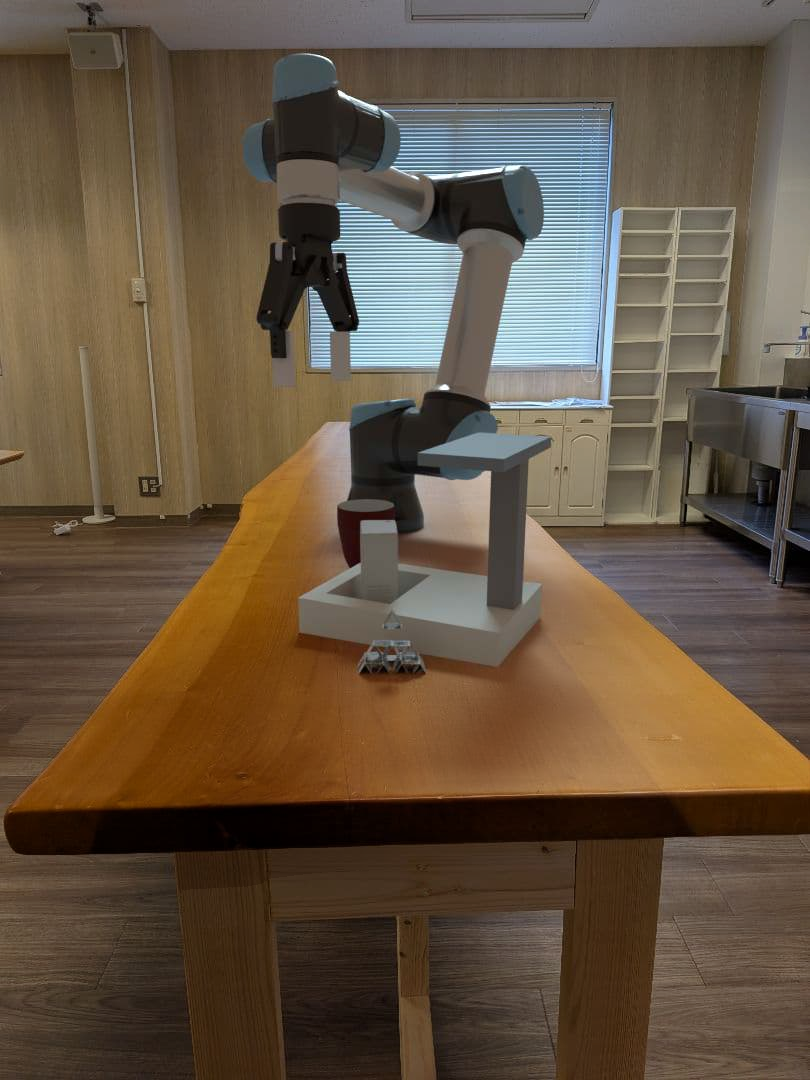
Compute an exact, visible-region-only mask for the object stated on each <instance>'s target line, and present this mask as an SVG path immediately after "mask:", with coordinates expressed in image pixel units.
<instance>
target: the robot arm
mask: <svg viewBox="0 0 810 1080" xmlns="http://www.w3.org/2000/svg"><path fill="white" fill-rule="evenodd" d="M272 71H273V72H272V97H271V103H272V110H273V111H272V112H273V118H267V119H264V121H261V122H258V123H254V124H252V125H250V126H249V127H247V130H245V132H244V134H243V138H242V141H241V142H242V146H241V147H242V148H241V149H242V153H241V154H242V160H243V163H244V165H245V166H246V168H247V170H248V172H249V173H250V175H251V176H253V178H254V179H256V180H257V181H259V182H261V183H273V184H276V185H277V186H276V189H277V200H278V202H279V203H281V205H280V206H279V208H277V220H278V221H277V222H278V226H277V227H278V236H279V238H280V239H281V240H283V241H277V242H276V241H275V242H271V243H270V245H269V263H268V268H267V272H266V277H265V280H264V285H263V287H262V288H263V289H262V292H261V293H262V294H261V295H260V296H261V297H260V302H259V305H258V311H257V314H256V322H257V324H258V325H260V328H261V330H262V331H269V343H270V355H271V362H272V364H271V365H272V383H273V387H274V388H275V387H277V388H278V387H281V388H295V387H296V385H297V384H296V366H295V365H296V364H295V363H296V362H295V338H294V336H295V335H294V330H289V327H290V325H291V323H292V321H293V319H294V315H295V313H296V311H297V309H298V306H299V304H300V301H301V300H302V297H303V294H304V292H305V289H306V288H312V290H313V291H315V292H317V295H318V297H319V298H320V302H321V303H322V306H323V308H324V310H325V312H326V315H327V317H328V319H329V322H330V324H331V326H332V329H333V331H329V351H330V352H329V353H330V381H332V382H333V381H334V382H351V380H352V378H351V377H352V375H351V374H352V373H351V372H352V371H351V369H352V368H351V367H352V366H351V332H357V331H358V328H359V324H360V318H359V314H358V310H357V306H356V303H355V297H354V294H353V290H352V286H351V282H350V278H349V274H348V265H347V256H346V255H347V254H346V253H345V252H333V248H332V244H333V243H334V242H337V241H338V240H340V239H341V211H340V210H339V208H338V206H336V205H338V203H340V201H341V202H343V203H346V204H348V205H351V206H354V207H356V208H360V209H362V210H365V211H368V212H370V213H373V214H376V215H377V216H380V217H383V218H385V219H388V220H391V223H392V224H393V225H394V226H395V227H396V228H397V229H399V230H401V231H403V232H406V233H408V234H411V235H413V236H417V237H420V238H422V239H425V240H429V241H432V242H436V243H441V244H445V245H457V247H458V249H459V250H460V251H461V253H462V259H461V263H460V267H459V273H458V277H457V280H456V287H455V291H454V295H453V299H452V306H451V309H450V314H449V318H448V324H447V329H446V332H445V333H446V334H445V338H444V343H443V347H442V352H441V357H440V361H439V366H438V370H437V376H436V380H435V384H434V385H433V387H431V388H429V389H427V390H426V391H425V392H424V394H423V398H422V402H421V406H420V407H417V403H416V402H415V399H414V398H398V399H392V400H391V399H389V400H381V401H372V402H365V403H364V402H363V403H357V404H355V405H354V406H353V407H352V409H350V419H349V420H350V421H349V423H350V424H349V428H348V429H349V448H350V449H349V450H350V451H349V452H350V473H351V474H350V477H351V479H350V480H351V481H350V482H351V483H350V488H349V489H350V490H349V492H348V495H347V500H346V501H350V500H359V499H376V500H384V501H389V502H391V503H393V504H394V505H395V522H396V525H397V533H398V535H401V534H408V533H413V532H417V531H419V530H421V529H423V528H424V526H425V523H424V522H425V521H424V520H425V519H424V518H425V515H424V511H423V510H424V509H423V508H422V504H421V501H420V498H419V495H418V492H417V488H416V484H415V481H416V480H415V475H416V476H424V477H432V478H441V479H446V480H448V481H455V480H461V481H469V480H470V481H471V480H474V479H476V478H478V477H479V476H481V475H482V473H484V472H485V471H482V470H469V469H457V468H445V467H432V466H420V465H418V452H421V451H424V450H427V449H430V448H433V447H436V446H439V445H442V444H445V443H448V442H451V441H454V440H457V439H460V438H463V437H466V436H469V435H472V434H475V433H478V432H480V433H497V434H499V433H498V430H499V426H498V422H497V419H496V417H495V416H494V415H493V414H492V413H491V408H492V406H491V403H490V402H489V401H488V399H487V397H486V396H485V394H486V389H487V383H488V380H489V376H490V370H491V366H492V360H493V355H494V351H495V347H496V341H497V336H498V332H499V328H500V322H501V318H502V313H503V309H504V303H505V299H506V294H507V289H508V285H509V278H510V274H511V271H512V266H513V265H512V264H514V263H515V262H517V261H518V260H520V259H521V258H522V257H523V255H524V252H525V251H524V250H525V246H526V242H527V240H528V241H533V240H535V239H537V238H538V237H539V235H540V234H541V233H542V231H543V228H544V227H543V225H544V222H545V221H544V220H545V218H544V217H545V208H544V207H545V206H544V199H543V193H542V189H541V184H540V183H539V180H538V177H537V176H536V175H535V173H534V171H533V170H532V169H530V167H528V166H527V165H522V164H521V165H507V164H505V165H502V166H501V167H497V168H489V169H488V168H487V169H480V170H473V171H465V172H460V173H459V172H457V173H449V174H443V175H442V174H441V175H426V174H424V173H422V172H419V171H411V172H410V171H409V172H407V173H406V172H403V170H402V171H401V170H399V169H398V168H396V167H394V166H393V165H394V163H395V161H396V160H397V158H398V156H399V154H400V151H401V150H400V149H401V141H402V137H401V131H400V127H399V124H398V123H397V121H396V120H395V118H394V117H393V116H392V115H391V114H389V113H387V112H385V111H384V110H382V109H381V108H380V107H378V106H377V105H374V104H370V103H367V102H364V101H362V100H360V99H357V98H354V97H352V96H350V95H346V94H345V93H344V92H342V91H341V90H338V88H339V85H340V84H339V81H338V73H337V69H336V66H335V65H334V64H333V62H332V60H330V59H329V58H327V57H324V56H321V55H317V54H314V53H313V54H311V53H294V54H289V55H285V56H283V57H281V58H280V59H278V61H276V63H275V64H274V66H273V70H272Z"/></svg>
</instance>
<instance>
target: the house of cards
mask: <svg viewBox="0 0 810 1080" xmlns="http://www.w3.org/2000/svg"><path fill="white" fill-rule="evenodd" d="M392 614H393V616H394V617H395V619H396V621H397V622H398V623H392V624H387V622H388V620H389V619H390V617H391V615H392ZM383 629H385V633H386V629H402V624H401V622H400V621H399V619H398V617H397V616H396V614H395V613H394V611H393V609H392V610H391V612H390V614H389V615H388V617H387V619H386V620H385V622H384V624H383ZM380 645H388V647H387V648H385V650H384V651H381V650H380V648H379V647H380ZM396 646H406V647H405V649H404V651H403V650H402V651H400V650H398V649H397V647H396ZM409 647H411V649H412V650H413V652H409V651H407V650H408V649H409ZM373 648H374V650H375V651H371V650H372V649H373ZM391 648H393V649H392V650H393V651H394V653H395V654H389V653H390V651H391ZM389 661H390V662H392V661H393V671H394V672H395V674H394V675H397V673H398V671H399V670H400V668H401V666H402V667H403V669H404V670H405V672H406V674H409V668H408V665H411V667H412V669H413V670H412V671H413V672H412V673H413V674H415V673H416V671H417V670H418V668H419V667H420V666H421V668H422V669H423V671H424V673H425V674H427V669H426V666H425V661H424V659H423V658H422V657H421V655H420V653H418V652H416V650H415V649H414V647H413V646H412V644H411V642H410V641H392V640H373V643H372V644H371V645H369V647H368V649H367V651H365V652H364V653H363V655H362V657H361V658H360V660H359V661H358V663H357V669H358V674H361V672H362V669H363V668H364V666H365V667H366V668H367V670H368V671H369V673H370V674H371V675H372V673H373V668H372V667H373V665H375V668H376V675H377V674H378V673H379V672H380V671H381V669H382V667H383V666H384V667H385V669H386V670H387V672H388V673H389V674H390V673H391V668H390V667H391V666H390V662H389ZM390 675H391V674H390Z"/></svg>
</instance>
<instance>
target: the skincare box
mask: <svg viewBox="0 0 810 1080" xmlns="http://www.w3.org/2000/svg"><path fill="white" fill-rule="evenodd" d="M360 551H361V595H362V600H368V601H374V602H380V603H386V604H391V603H392V602H394V601H395V600H397V599H398V563H399V534H398V533H397V525H396V522H395V520H363V521H361V523H360Z"/></svg>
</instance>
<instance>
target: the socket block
mask: <svg viewBox="0 0 810 1080" xmlns="http://www.w3.org/2000/svg"><path fill="white" fill-rule="evenodd" d="M487 579H488V575H481V574H474V573H467V572H460V571H455V570H447V569H446V570H445V569H440V568H433V567H426V566H419V565H411V564H404V563H399V562H398V599H397V600H395V601H394V602H392V603H391V604H386V603H380V602H374V601H368V600H362V595H361V563H359V564H357V565H355V566H354V567H352V568H348V569H347V570H345V571H343V572H341V573H339V574H338V575H335V576H334V577H332V578H330V579H329V580H327V581H326V582H324V583H322V584H320V585H318V586H316V587H315V588H313V589H311V590H309V591H308V592H305V593H304V594H302V595H300V596H298V597H297V599H298V602H297V603H298V605H297V606H298V619H299V620H298V623H299V624H298V625H299V626H298V627H299V629H298V630H299V634H305V635H312V636H318V637H323V638H330V639H334V640H339V641H345V642H351V643H357V644H358V643H359V644H363V645H369V646H371V644H372V643H373V640H392V641H410V642H411V644H412V646H413V647H414V649H415V650H416V652H418V653H419V655H420V654H421V655H427V656H431V657H432V656H433V657H438V658H442V659H450V660H455V661H462V662H466V663H473V664H480V665H485V666H491V667H496V668H497V667H499V666H500V665H501V664H502V662H503V661H504V660H505V659H506V658H507V657H508V656H509V654H510V653H511V652H512V651H513V650H514V649H515V648H516V646H517V645H518V644H519V643H520V642H521V641H522V639H523V638H524V637H525V636H526V635H527V634H528V633H529V631H530V630H531V629H532V628H533V626H534V625H536V623H537V621H539V619H541V615H542V595H543V593H542V592H543V583H538V582H530V581H524V580H523V591H522V602H521V603H520V604H519V605H518V606H517V607H516V608H515V609H514V610H510V609H504V608H498V607H491V606H487ZM392 609H393V611H394V613H395V614H396V616H397V617H398V619H399V621H400V622H401V624H402V629H386V633H385V629H383V624H384V622H385V620H386V619H387V617H388V615H389V614H390V612H391V610H392ZM392 623H398V622H397V621H396V619H395V617H394V616H393V614H392V615H391V617H390V619H389V620H388V622H387V624H392ZM379 647H381V648H385V649H386V648H387V647H388V645H380V646H379ZM396 647H397V649H398V650H399V651H402V652H403V651H404V649H405V647H406V646H396ZM391 649H392V650H394V649H393V648H391ZM407 652H413V650H412V649H411V647H409V649H408V650H407Z"/></svg>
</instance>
